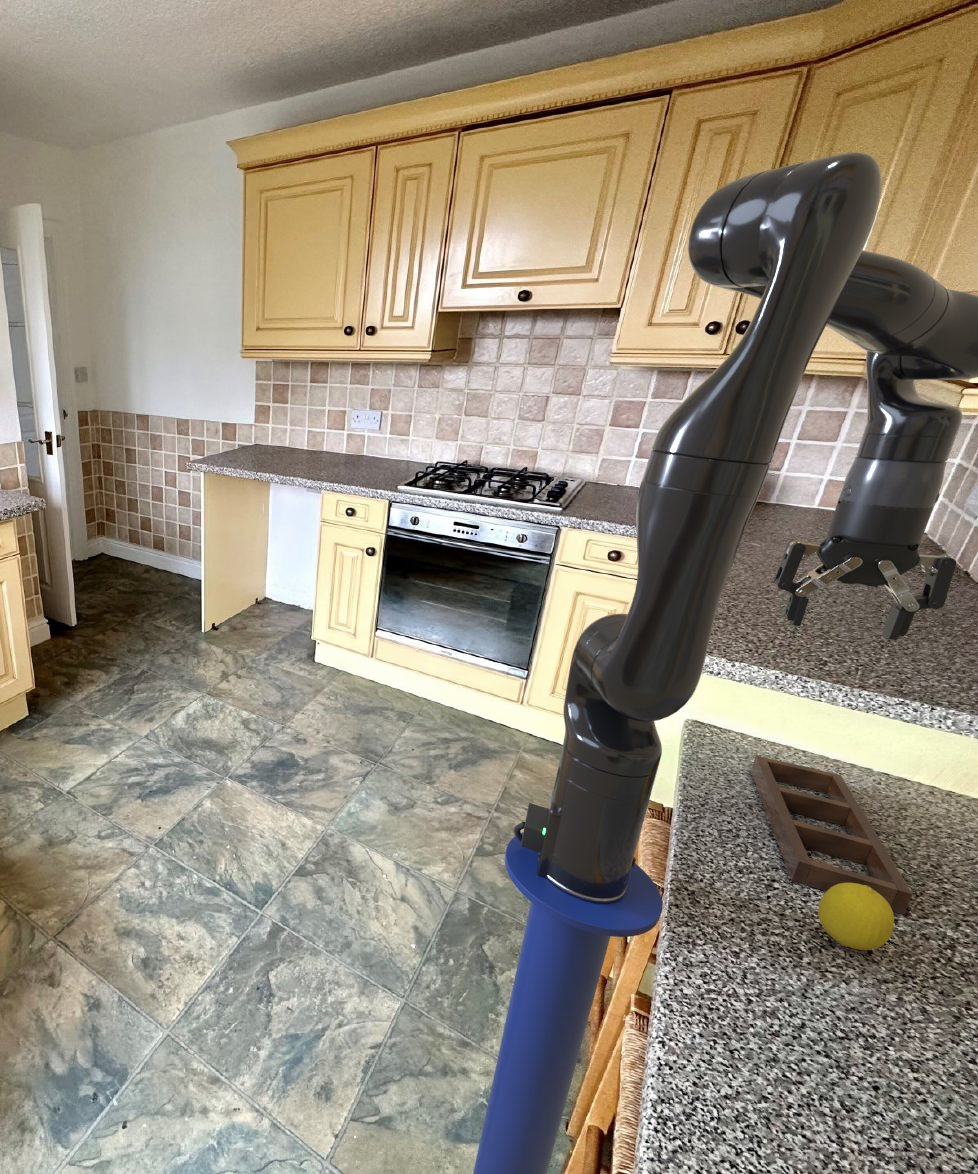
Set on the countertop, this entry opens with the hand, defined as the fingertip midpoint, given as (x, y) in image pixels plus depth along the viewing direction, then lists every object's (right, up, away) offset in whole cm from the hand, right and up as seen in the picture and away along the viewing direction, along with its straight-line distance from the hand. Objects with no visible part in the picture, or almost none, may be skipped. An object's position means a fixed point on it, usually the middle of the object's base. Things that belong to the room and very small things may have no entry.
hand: (840, 630), depth 77 cm
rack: (+7, -28, +10) cm, 31 cm away
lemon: (-7, -34, -8) cm, 36 cm away
